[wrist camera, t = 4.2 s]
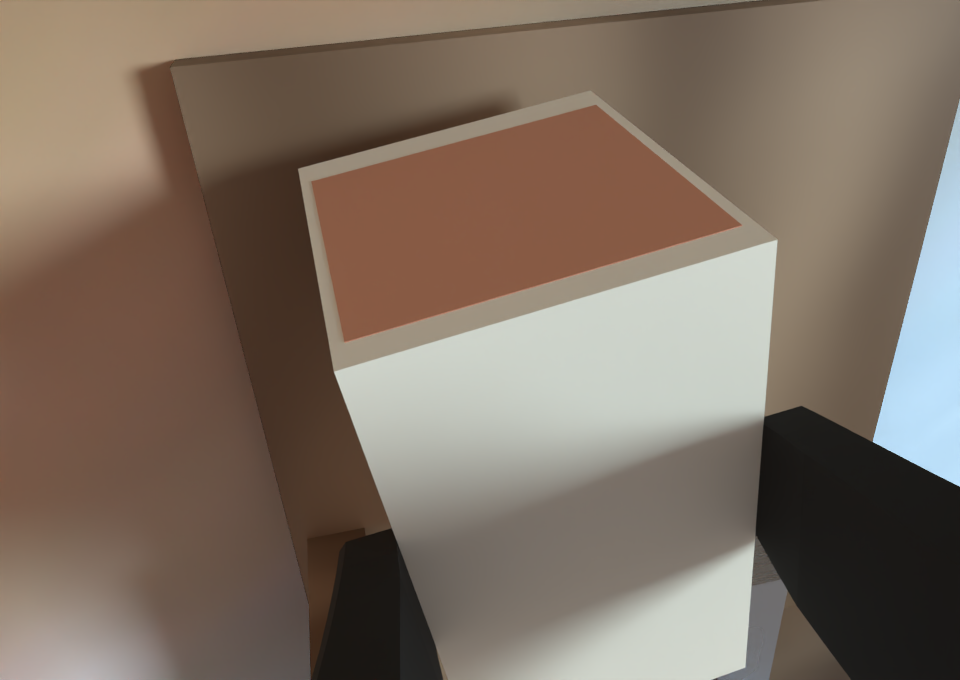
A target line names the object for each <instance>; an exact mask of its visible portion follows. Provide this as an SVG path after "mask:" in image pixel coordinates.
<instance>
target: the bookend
mask: <svg viewBox="0 0 960 680" xmlns="http://www.w3.org/2000/svg"><path fill="white" fill-rule="evenodd" d="M787 591H788V590H787V589H786V587H785V585H784V584H783V582H782V580H781V579H780V577H779V575H778V574H777V572H776V570H775V568H774V566H773V565H772V563H771V561H770V559H769V558H768V556H767V554H766V552H765V550H764V549H763V547H762V545H761V543H760V541H759V540H758V538H757V536H756V533H755V546H754V559H753V572H752V586H751V599H750V612H749V626H748V639H747V652H746V665H745V668H743V669H740V670H737V671H734V672H731V673H729V674H726V675H723V676H720V677H718V678H715V679H712V680H769V677H770V672H771V667H772V663H773V658H774V653H775V648H776V644H777V639H778V634H779V629H780V624H781V620H782V615H783V610H784V605H785V601H786V596H787Z"/></svg>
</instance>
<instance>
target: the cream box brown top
mask: <svg viewBox="0 0 960 680" xmlns="http://www.w3.org/2000/svg"><path fill="white" fill-rule="evenodd" d="M298 171H299V177H300V183H301V188H302V194H303V200H304V205H305V211H306V217H307V222H308V228H309V234H310V239H311V245H312V251H313V256H314V262H315V268H316V273H317V279H318V285H319V290H320V296H321V302H322V307H323V313H324V319H325V324H326V330H327V336H328V341H329V347H330V353H331V358H332V364H333V370H334V373H335V376H336V379H337V381H338V384H339V387H340V389H341V392H342V395H343V398H344V400H345V403H346V406H347V408H348V411H349V414H350V416H351V419H352V422H353V425H354V427H355V430H356V433H357V435H358V438H359V441H360V443H361V446H362V449H363V452H364V454H365V457H366V460H367V462H368V465H369V468H370V470H371V473H372V476H373V478H374V481H375V484H376V487H377V489H378V492H379V495H380V497H381V500H382V503H383V505H384V508H385V511H386V514H387V516H388V519H389V522H390V524H391V527H392V530H393V532H394V535H395V538H396V540H397V543H398V545H399V548H400V551H401V553H402V556H403V559H404V561H405V564H406V567H407V570H408V572H409V575H410V578H411V580H412V583H413V586H414V588H415V591H416V594H417V596H418V599H419V602H420V605H421V607H422V610H423V613H424V615H425V618H426V621H427V623H428V626H429V629H430V631H431V634H432V637H433V640H434V642H435V645H436V648H437V651H438V654H439V656H440V659H441V662H442V665H443V667H444V670H445V673H446V675H447V678H448V680H712V679H715V678H718V677H720V676H723V675H726V674H729V673H731V672H734V671H737V670H740V669H743V668H745V665H746V652H747V639H748V626H749V612H750V599H751V586H752V572H753V559H754V546H755V533H756V516H757V503H758V489H759V476H760V462H761V449H762V436H763V424H764V413H765V400H766V387H767V373H768V360H769V347H770V333H771V320H772V307H773V294H774V280H775V267H776V254H777V240H778V239H776V238H775V237H774V236H773V235H771V234H770V233H769V232H768V231H766V230H765V229H764V228H762V227H761V226H760V225H759V224H757V223H756V222H755V221H754V220H752V219H751V218H750V217H749V216H747V215H746V214H745V213H744V212H742V211H741V210H740V209H739V208H737V207H736V206H735V205H734V204H732V203H731V202H730V201H729V200H727V199H726V198H725V197H724V196H722V195H721V194H720V193H719V192H717V191H716V190H715V189H714V188H712V187H711V186H710V185H709V184H707V183H706V182H705V181H704V180H702V179H701V178H700V177H698V176H697V175H696V174H695V173H693V172H692V171H691V170H690V169H688V168H687V167H686V166H685V165H683V164H682V163H681V162H680V161H678V160H677V159H676V158H675V157H673V156H672V155H671V154H670V153H668V152H667V151H666V150H665V149H663V148H662V147H661V146H660V145H658V144H657V143H656V142H655V141H653V140H652V139H651V138H650V137H648V136H647V135H646V134H645V133H643V132H642V131H641V130H639V129H638V128H637V127H636V126H634V125H633V124H632V123H631V122H629V121H628V120H627V119H626V118H624V117H623V116H622V115H621V114H619V113H618V112H617V111H616V110H614V109H613V108H612V107H611V106H609V105H608V104H607V103H606V102H604V101H603V100H602V99H601V98H599V97H598V96H597V95H596V94H594V93H593V92H592V91H587V92H583V93H579V94H576V95H572V96H568V97H564V98H561V99H557V100H553V101H549V102H546V103H542V104H538V105H534V106H531V107H527V108H523V109H519V110H516V111H512V112H508V113H505V114H501V115H497V116H493V117H490V118H486V119H482V120H478V121H475V122H471V123H467V124H463V125H460V126H456V127H452V128H448V129H445V130H441V131H437V132H433V133H430V134H426V135H422V136H418V137H415V138H411V139H407V140H404V141H400V142H396V143H392V144H389V145H385V146H381V147H377V148H374V149H370V150H366V151H362V152H359V153H355V154H351V155H347V156H344V157H340V158H336V159H332V160H329V161H325V162H321V163H317V164H314V165H310V166H306V167H302V168H299V169H298Z"/></svg>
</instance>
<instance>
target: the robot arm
mask: <svg viewBox="0 0 960 680" xmlns="http://www.w3.org/2000/svg"><path fill="white" fill-rule="evenodd" d="M756 536H757V538H758V540H759V541H760V543H761V545H762V547H763V549H764V550H765V552H766V554H767V556H768V558H769V559H770V561H771V563H772V565H773V566H774V568H775V570H776V572H777V574H778V575H779V577H780V579H781V580H782V582H783V584H784V585H785V587H786V589H787V590H788V592H789V594H790V595H791V597H792V599H793V601H794V602H795V604H796V606H797V607H798V608H799V610H800V611H801V613H802V614H803V615H804V617H805V618H806V619H807V621H808V622H809V624H810V625H811V626H812V628H813V629H814V630H815V632H816V633H817V634H818V636H819V637H820V639H821V640H822V641H823V643H824V644H825V645H826V647H827V648H828V649H829V651H830V652H831V653H832V655H833V656H834V657H835V659H836V660H837V661H838V663H839V664H840V666H841V667H842V668H843V670H844V671H845V672H846V674H847V675H848V676H849V678H850V679H851V680H960V487H959V486H957V485H955V484H953V483H951V482H949V481H947V480H945V479H943V478H941V477H939V476H937V475H935V474H933V473H931V472H929V471H927V470H925V469H923V468H921V467H920V466H918V465H916V464H914V463H912V462H910V461H908V460H906V459H904V458H902V457H900V456H898V455H896V454H894V453H893V452H891V451H889V450H887V449H885V448H883V447H881V446H879V445H877V444H875V443H873V442H871V441H870V440H868V439H866V438H864V437H862V436H860V435H858V434H856V433H854V432H852V431H850V430H849V429H847V428H845V427H843V426H841V425H839V424H837V423H835V422H833V421H831V420H829V419H827V418H825V417H823V416H822V415H820V414H818V413H816V412H813V411H811V410H809V409H807V408H805V407H803V406H799V407H795V408H792V409H789V410H785V411H782V412H779V413H775V414H772V415H769V416H765V417H764V424H763V436H762V449H761V462H760V476H759V489H758V503H757V516H756ZM311 680H443V676H442V672H441V668H440V663H439V659H438V654H437V650H436V645H435V642H434V640H433V637H432V634H431V631H430V629H429V626H428V623H427V621H426V618H425V615H424V613H423V610H422V607H421V605H420V602H419V599H418V596H417V594H416V591H415V588H414V586H413V583H412V580H411V578H410V575H409V572H408V570H407V567H406V564H405V561H404V559H403V556H402V553H401V551H400V548H399V545H398V543H397V540H396V538H395V535H394V532H393V530H392V528H390V529H387V530H384V531H380V532H377V533H374V534H370V535H367V536H363V537H360V538H357V539H353V540H350V541H347V542H345V544H344V545H343V547H342V548H341V549H340V551H339V557H338V564H337V571H336V576H335V582H334V587H333V593H332V598H331V603H330V607H329V612H328V616H327V621H326V625H325V629H324V633H323V637H322V642H321V646H320V650H319V654H318V657H317V661H316V665H315V668H314V672H313V675H312V679H311Z"/></svg>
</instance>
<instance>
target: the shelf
mask: <svg viewBox="0 0 960 680" xmlns="http://www.w3.org/2000/svg"><path fill="white" fill-rule="evenodd" d="M170 70H171V74H172V77H173V81H174V85H175V89H176V93H177V97H178V101H179V104H180V108H181V112H182V116H183V120H184V124H185V128H186V132H187V135H188V139H189V143H190V147H191V151H192V155H193V159H194V162H195V166H196V170H197V174H198V178H199V182H200V186H201V190H202V193H203V197H204V201H205V205H206V209H207V213H208V217H209V220H210V224H211V228H212V232H213V236H214V240H215V244H216V248H217V251H218V255H219V259H220V263H221V267H222V271H223V275H224V278H225V282H226V286H227V290H228V294H229V298H230V302H231V306H232V309H233V313H234V317H235V321H236V325H237V329H238V333H239V336H240V340H241V344H242V348H243V352H244V356H245V360H246V364H247V367H248V371H249V375H250V379H251V383H252V387H253V391H254V394H255V398H256V402H257V406H258V410H259V414H260V418H261V422H262V425H263V429H264V433H265V437H266V441H267V445H268V449H269V452H270V456H271V460H272V464H273V468H274V472H275V476H276V480H277V483H278V487H279V491H280V495H281V499H282V503H283V507H284V510H285V514H286V518H287V522H288V526H289V530H290V534H291V538H292V541H293V545H294V549H295V553H296V557H297V561H298V565H299V568H300V572H301V576H302V580H303V584H304V588H305V592H306V596H307V599H308V603H309V628H310V667H311V679H312V675H313V672H314V668H315V665H316V661H317V657H318V654H319V650H320V646H321V642H322V637H323V633H324V629H325V625H326V621H327V616H328V612H329V607H330V603H331V598H332V593H333V587H334V582H335V576H336V571H337V564H338V557H339V551H340V549H341V548H342V547H343V545H344V544H345V542H347V541H350V540H353V539H357V538H360V537H363V536H367V535H370V534H374V533H377V532H380V531H384V530H387V529H390V528H392V527H391V524H390V522H389V519H388V516H387V514H386V511H385V508H384V505H383V503H382V500H381V497H380V495H379V492H378V489H377V487H376V484H375V481H374V478H373V476H372V473H371V470H370V468H369V465H368V462H367V460H366V457H365V454H364V452H363V449H362V446H361V443H360V441H359V438H358V435H357V433H356V430H355V427H354V425H353V422H352V419H351V416H350V414H349V411H348V408H347V406H346V403H345V400H344V398H343V395H342V392H341V389H340V387H339V384H338V381H337V379H336V376H335V373H334V370H333V364H332V358H331V353H330V347H329V341H328V336H327V330H326V324H325V319H324V313H323V307H322V302H321V296H320V290H319V285H318V279H317V273H316V268H315V262H314V256H313V251H312V245H311V239H310V234H309V228H308V222H307V217H306V211H305V205H304V200H303V194H302V188H301V183H300V177H299V171H298V169H299V168H302V167H306V166H310V165H314V164H317V163H321V162H325V161H329V160H332V159H336V158H340V157H344V156H347V155H351V154H355V153H359V152H362V151H366V150H370V149H374V148H377V147H381V146H385V145H389V144H392V143H396V142H400V141H404V140H407V139H411V138H415V137H418V136H422V135H426V134H430V133H433V132H437V131H441V130H445V129H448V128H452V127H456V126H460V125H463V124H467V123H471V122H475V121H478V120H482V119H486V118H490V117H493V116H497V115H501V114H505V113H508V112H512V111H516V110H519V109H523V108H527V107H531V106H534V105H538V104H542V103H546V102H549V101H553V100H557V99H561V98H564V97H568V96H572V95H576V94H579V93H583V92H587V91H592V92H593V93H594V94H596V95H597V96H598V97H599V98H601V99H602V100H603V101H604V102H606V103H607V104H608V105H609V106H611V107H612V108H613V109H614V110H616V111H617V112H618V113H619V114H621V115H622V116H623V117H624V118H626V119H627V120H628V121H629V122H631V123H632V124H633V125H634V126H636V127H637V128H638V129H639V130H641V131H642V132H643V133H645V134H646V135H647V136H648V137H650V138H651V139H652V140H653V141H655V142H656V143H657V144H658V145H660V146H661V147H662V148H663V149H665V150H666V151H667V152H668V153H670V154H671V155H672V156H673V157H675V158H676V159H677V160H678V161H680V162H681V163H682V164H683V165H685V166H686V167H687V168H688V169H690V170H691V171H692V172H693V173H695V174H696V175H697V176H698V177H700V178H701V179H702V180H704V181H705V182H706V183H707V184H709V185H710V186H711V187H712V188H714V189H715V190H716V191H717V192H719V193H720V194H721V195H722V196H724V197H725V198H726V199H727V200H729V201H730V202H731V203H732V204H734V205H735V206H736V207H737V208H739V209H740V210H741V211H742V212H744V213H745V214H746V215H747V216H749V217H750V218H751V219H752V220H754V221H755V222H756V223H757V224H759V225H760V226H761V227H762V228H764V229H765V230H766V231H768V232H769V233H770V234H771V235H773V236H774V237H775V238H776V239H778V240H777V254H776V267H775V280H774V294H773V307H772V320H771V333H770V347H769V360H768V373H767V387H766V400H765V413H764V417H765V416H769V415H772V414H775V413H779V412H782V411H785V410H789V409H792V408H795V407H799V406H803V407H805V408H807V409H809V410H811V411H813V412H816V413H818V414H820V415H822V416H823V417H825V418H827V419H829V420H831V421H833V422H835V423H837V424H839V425H841V426H843V427H845V428H847V429H849V430H850V431H852V432H854V433H856V434H858V435H860V436H862V437H864V438H866V439H868V440H870V441H871V442H872V441H873V437H874V433H875V429H876V426H877V422H878V418H879V414H880V410H881V406H882V402H883V398H884V394H885V390H886V386H887V382H888V378H889V374H890V371H891V367H892V363H893V359H894V355H895V351H896V347H897V343H898V339H899V335H900V331H901V327H902V323H903V319H904V316H905V312H906V308H907V304H908V300H909V296H910V292H911V288H912V284H913V280H914V276H915V272H916V268H917V264H918V261H919V257H920V253H921V249H922V245H923V241H924V237H925V233H926V229H927V225H928V221H929V217H930V213H931V209H932V206H933V202H934V198H935V194H936V190H937V186H938V182H939V178H940V174H941V170H942V166H943V162H944V158H945V154H946V151H947V147H948V143H949V139H950V135H951V131H952V127H953V123H954V119H955V115H956V111H957V107H958V103H959V99H960V0H762V1H752V2H742V3H732V4H722V5H712V6H703V7H693V8H683V9H673V10H663V11H653V12H643V13H633V14H623V15H614V16H604V17H594V18H584V19H574V20H564V21H554V22H544V23H535V24H525V25H515V26H505V27H495V28H485V29H475V30H465V31H455V32H446V33H436V34H426V35H416V36H406V37H396V38H386V39H376V40H367V41H357V42H347V43H337V44H327V45H317V46H307V47H297V48H287V49H278V50H268V51H258V52H248V53H238V54H228V55H218V56H208V57H199V58H189V59H179V60H175V61H174V62H173V64H172V65H171V67H170ZM436 650H437V648H436ZM437 654H438V651H437ZM438 659H439V663H440V668H441V672H442V676H443V680H448V678H447V675H446V673H445V670H444V667H443V665H442V662H441V659H440V656H439V654H438ZM769 680H851V679H850V678H849V676H848V675H847V674H846V672H845V671H844V670H843V668H842V667H841V666H840V664H839V663H838V661H837V660H836V659H835V657H834V656H833V655H832V653H831V652H830V651H829V649H828V648H827V647H826V645H825V644H824V643H823V641H822V640H821V639H820V637H819V636H818V634H817V633H816V632H815V630H814V629H813V628H812V626H811V625H810V624H809V622H808V621H807V619H806V618H805V617H804V615H803V614H802V613H801V611H800V610H799V608H798V607H797V606H796V604H795V602H794V601H793V599H792V597H791V595H790V594H789V592H788V591H787V596H786V601H785V605H784V610H783V615H782V620H781V624H780V629H779V634H778V639H777V644H776V648H775V653H774V658H773V663H772V667H771V672H770V677H769Z"/></svg>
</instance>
